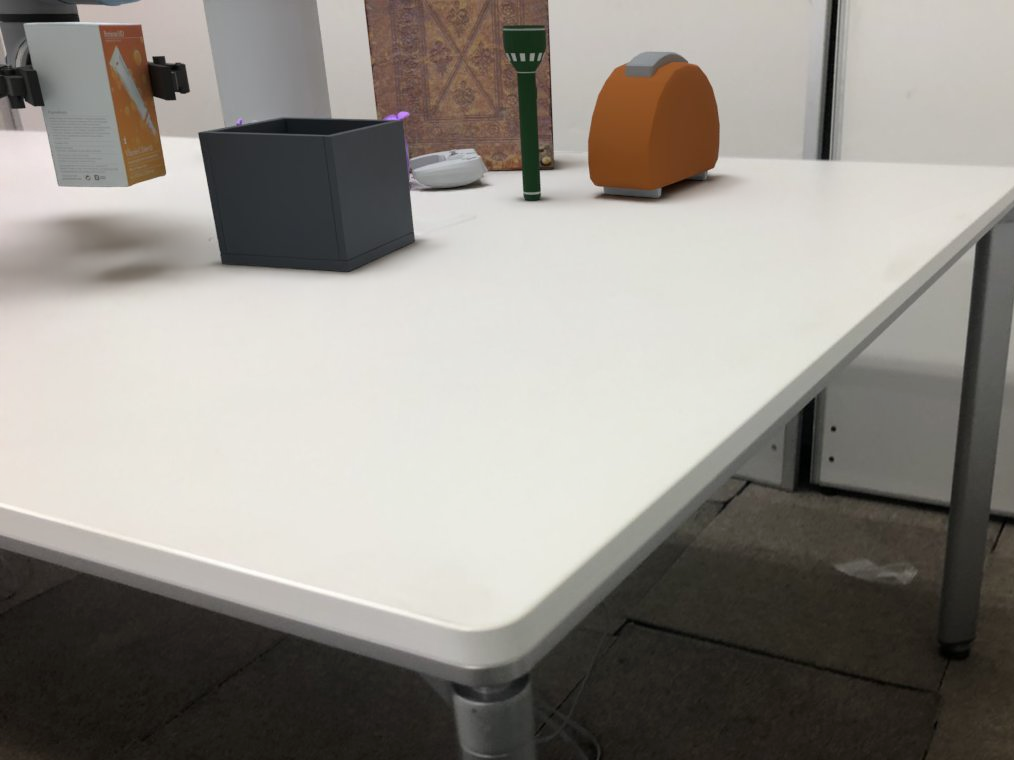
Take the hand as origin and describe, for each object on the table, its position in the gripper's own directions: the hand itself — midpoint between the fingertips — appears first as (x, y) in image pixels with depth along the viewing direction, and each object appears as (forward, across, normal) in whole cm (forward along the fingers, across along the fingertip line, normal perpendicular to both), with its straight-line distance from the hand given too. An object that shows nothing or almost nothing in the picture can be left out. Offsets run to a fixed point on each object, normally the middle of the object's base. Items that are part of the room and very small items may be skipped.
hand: (104, 86), depth 85 cm
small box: (-4, 0, -8) cm, 9 cm away
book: (-45, -55, -16) cm, 73 cm away
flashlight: (-15, -49, -16) cm, 53 cm away
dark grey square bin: (-2, -17, -16) cm, 24 cm away
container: (-73, -35, -16) cm, 83 cm away
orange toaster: (-14, -67, -16) cm, 70 cm away
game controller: (-34, -46, -16) cm, 59 cm away
